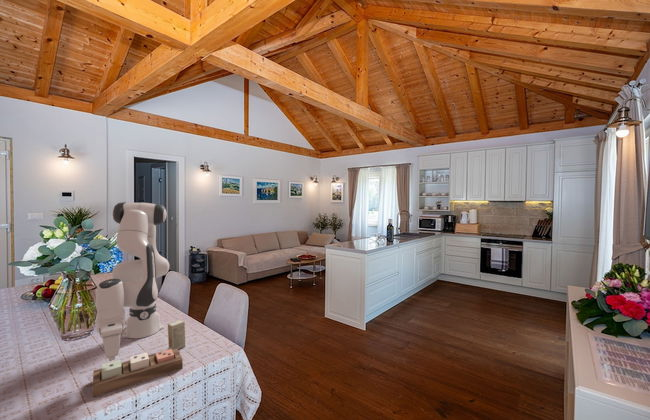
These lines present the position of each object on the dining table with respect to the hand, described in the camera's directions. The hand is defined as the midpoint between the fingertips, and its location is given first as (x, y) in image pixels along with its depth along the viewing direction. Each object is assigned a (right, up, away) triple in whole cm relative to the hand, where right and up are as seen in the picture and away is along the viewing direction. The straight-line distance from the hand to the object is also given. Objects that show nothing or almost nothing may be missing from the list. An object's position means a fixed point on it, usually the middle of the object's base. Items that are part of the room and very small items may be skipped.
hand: (112, 358), depth 110 cm
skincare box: (+11, -9, +27) cm, 30 cm away
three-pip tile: (+14, -9, +11) cm, 20 cm away
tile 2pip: (+7, -8, +6) cm, 12 cm away
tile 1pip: (0, -8, 0) cm, 8 cm away
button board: (+7, -9, +6) cm, 13 cm away
